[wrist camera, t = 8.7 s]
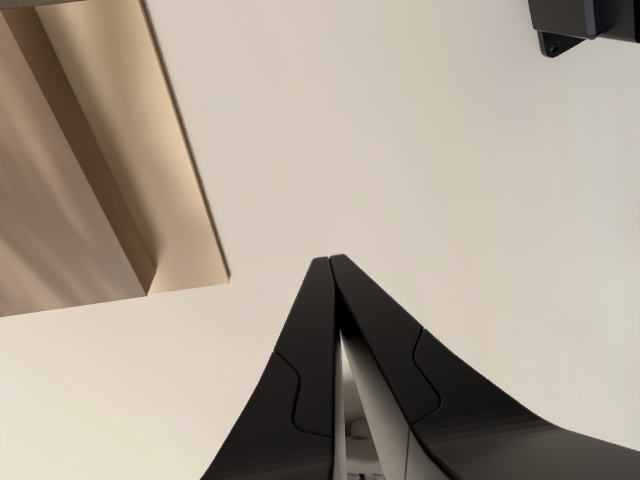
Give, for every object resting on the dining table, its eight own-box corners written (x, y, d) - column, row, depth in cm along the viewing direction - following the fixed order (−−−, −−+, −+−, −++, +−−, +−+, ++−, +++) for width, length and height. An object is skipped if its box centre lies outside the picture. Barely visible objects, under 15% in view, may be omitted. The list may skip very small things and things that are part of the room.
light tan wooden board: (138, -6, 16) (136, -6, 16) (229, 279, 26) (229, 282, 26) (-282, 43, 16) (-294, 44, 15) (-27, 315, 26) (-31, 320, 25)
